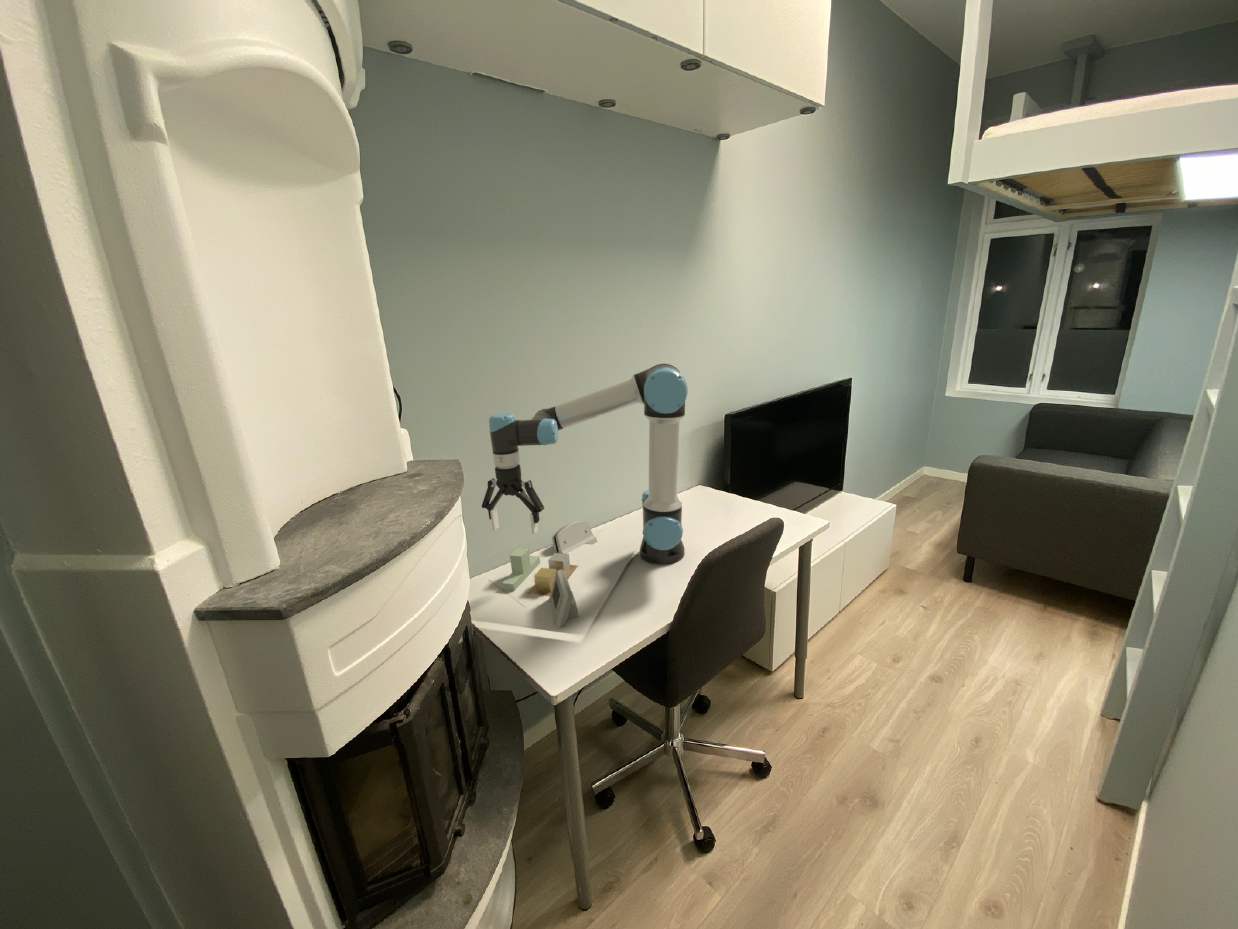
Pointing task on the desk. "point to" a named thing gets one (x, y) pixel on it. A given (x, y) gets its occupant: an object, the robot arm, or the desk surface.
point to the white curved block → (573, 537)
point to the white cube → (559, 562)
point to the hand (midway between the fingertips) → (515, 530)
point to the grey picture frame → (562, 600)
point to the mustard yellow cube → (545, 579)
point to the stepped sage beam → (520, 568)
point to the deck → (533, 591)
